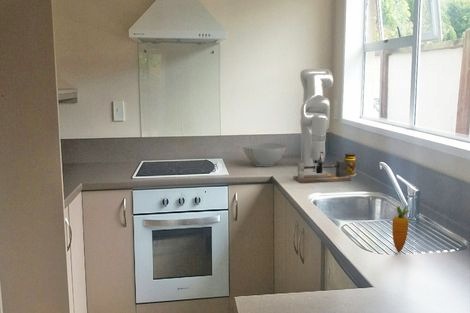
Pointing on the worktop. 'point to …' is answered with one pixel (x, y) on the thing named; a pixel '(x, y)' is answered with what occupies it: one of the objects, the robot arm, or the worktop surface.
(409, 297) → the worktop surface
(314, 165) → the sleeve
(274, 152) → the decorative bowl
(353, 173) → the condiment
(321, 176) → the rod slider rig
